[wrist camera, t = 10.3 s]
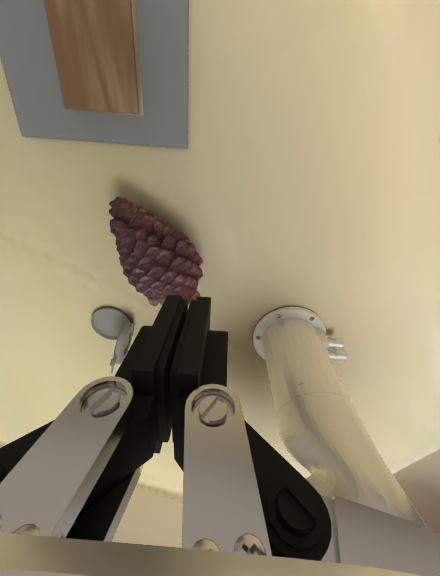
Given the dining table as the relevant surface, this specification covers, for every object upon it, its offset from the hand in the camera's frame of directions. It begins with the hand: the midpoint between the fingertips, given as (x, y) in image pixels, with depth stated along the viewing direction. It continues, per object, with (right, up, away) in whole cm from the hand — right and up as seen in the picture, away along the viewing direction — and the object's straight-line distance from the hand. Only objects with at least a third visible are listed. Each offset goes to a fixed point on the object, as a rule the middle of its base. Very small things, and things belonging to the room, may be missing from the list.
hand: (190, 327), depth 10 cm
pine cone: (-7, +8, +27) cm, 29 cm away
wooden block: (-7, +25, +16) cm, 31 cm away
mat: (-12, +26, +17) cm, 34 cm away
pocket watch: (-17, -5, +34) cm, 39 cm away
